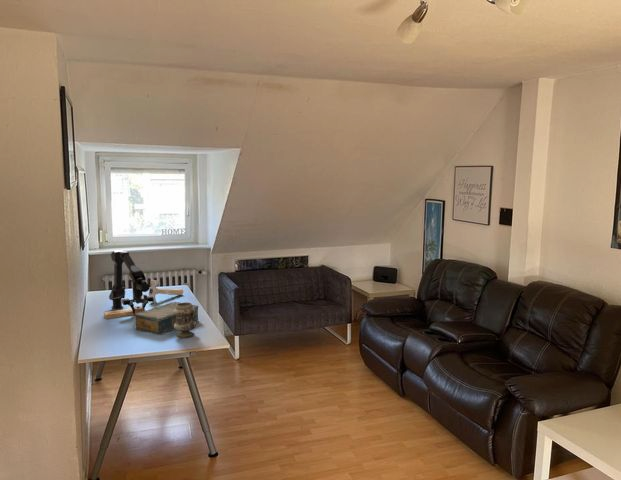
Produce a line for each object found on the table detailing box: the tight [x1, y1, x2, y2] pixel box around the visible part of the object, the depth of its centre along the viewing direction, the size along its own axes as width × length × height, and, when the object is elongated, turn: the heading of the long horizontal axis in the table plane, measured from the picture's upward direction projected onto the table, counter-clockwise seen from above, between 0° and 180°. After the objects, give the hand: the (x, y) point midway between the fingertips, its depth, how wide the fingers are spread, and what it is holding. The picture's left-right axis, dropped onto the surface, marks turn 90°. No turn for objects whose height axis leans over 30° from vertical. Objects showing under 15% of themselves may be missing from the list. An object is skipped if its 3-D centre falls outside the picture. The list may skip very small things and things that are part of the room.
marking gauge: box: [133, 305, 143, 317], centre depth 315 cm, size 10×5×6 cm, turn 32°
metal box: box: [134, 301, 199, 336], centre depth 291 cm, size 21×32×10 cm, turn 150°
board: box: [103, 308, 146, 319], centre depth 315 cm, size 7×24×3 cm, turn 122°
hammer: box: [148, 279, 184, 304], centre depth 355 cm, size 16×5×30 cm
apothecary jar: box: [173, 301, 197, 339], centre depth 272 cm, size 12×12×18 cm
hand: (138, 313), depth 313 cm, fingers closed on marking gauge, 5 cm apart
